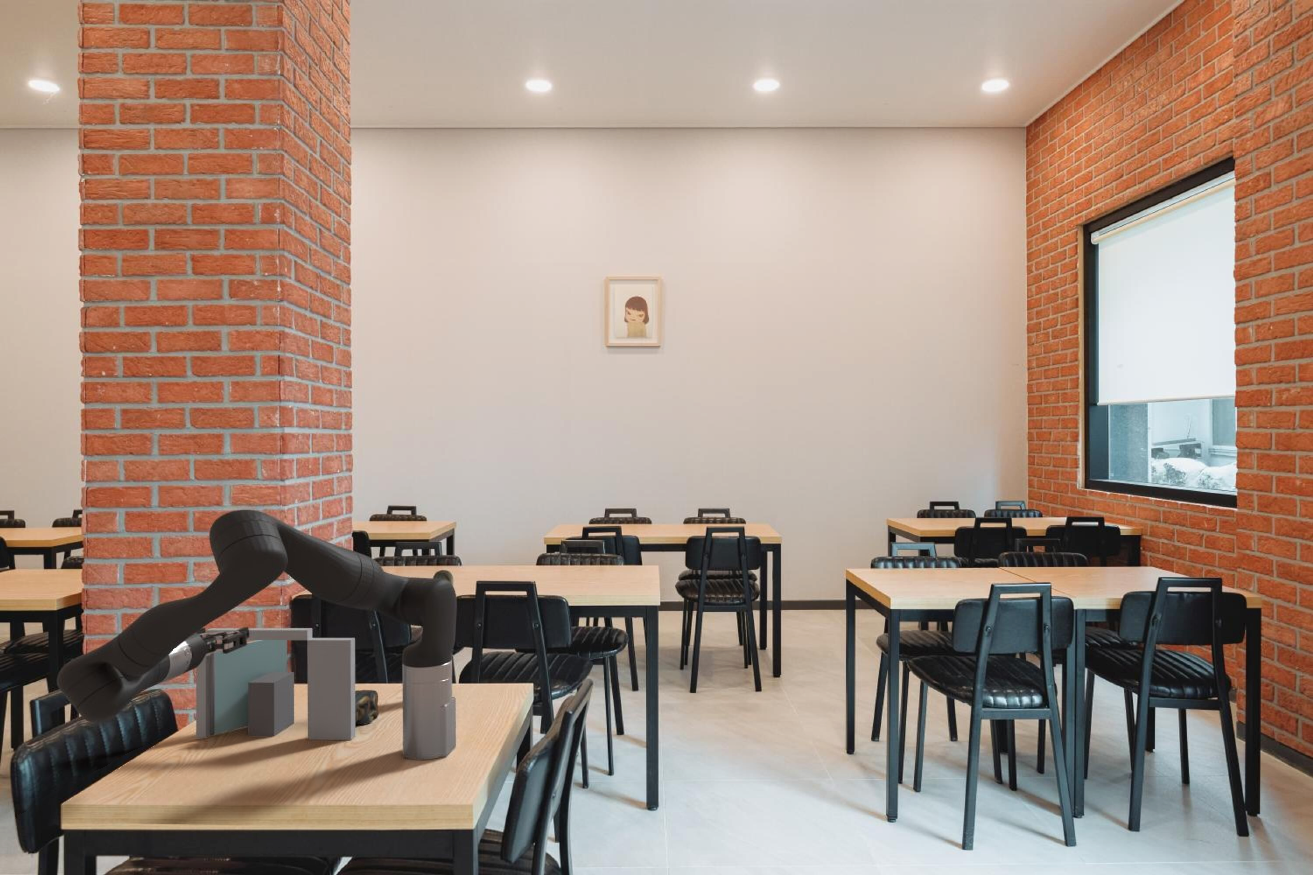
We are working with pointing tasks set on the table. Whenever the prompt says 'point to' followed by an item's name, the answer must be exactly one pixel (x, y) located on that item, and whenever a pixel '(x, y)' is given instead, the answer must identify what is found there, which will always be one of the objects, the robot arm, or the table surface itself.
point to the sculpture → (366, 706)
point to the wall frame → (325, 683)
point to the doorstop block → (270, 704)
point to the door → (240, 680)
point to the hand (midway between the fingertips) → (225, 632)
